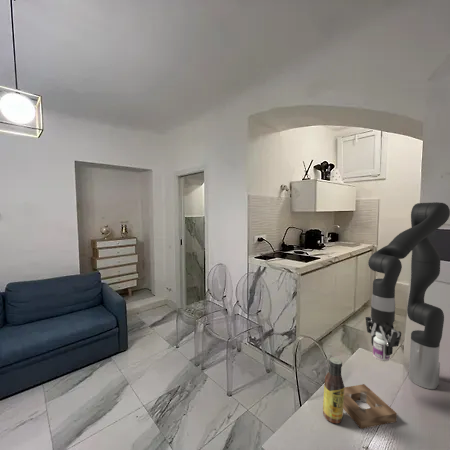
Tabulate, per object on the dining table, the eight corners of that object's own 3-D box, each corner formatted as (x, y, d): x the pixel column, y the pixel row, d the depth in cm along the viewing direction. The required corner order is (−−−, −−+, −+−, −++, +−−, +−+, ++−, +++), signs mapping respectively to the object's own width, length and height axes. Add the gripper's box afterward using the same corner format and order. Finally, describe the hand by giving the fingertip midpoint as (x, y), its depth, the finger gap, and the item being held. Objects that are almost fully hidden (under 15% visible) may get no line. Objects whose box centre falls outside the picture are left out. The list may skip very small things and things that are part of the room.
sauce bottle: (334, 427, 78) (336, 368, 77) (318, 413, 83) (320, 358, 82) (347, 420, 81) (349, 363, 80) (331, 406, 86) (333, 353, 85)
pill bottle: (384, 353, 94) (385, 330, 93) (392, 362, 88) (393, 337, 88) (370, 353, 94) (370, 329, 94) (377, 361, 89) (378, 336, 88)
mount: (363, 391, 94) (364, 384, 94) (396, 421, 80) (396, 413, 80) (332, 396, 91) (333, 389, 91) (361, 429, 77) (361, 420, 77)
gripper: (409, 313, 84) (407, 360, 85) (375, 299, 98) (374, 339, 99) (391, 315, 82) (389, 363, 83) (359, 300, 96) (358, 341, 97)
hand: (381, 349), depth 91 cm, fingers closed on pill bottle, 5 cm apart
